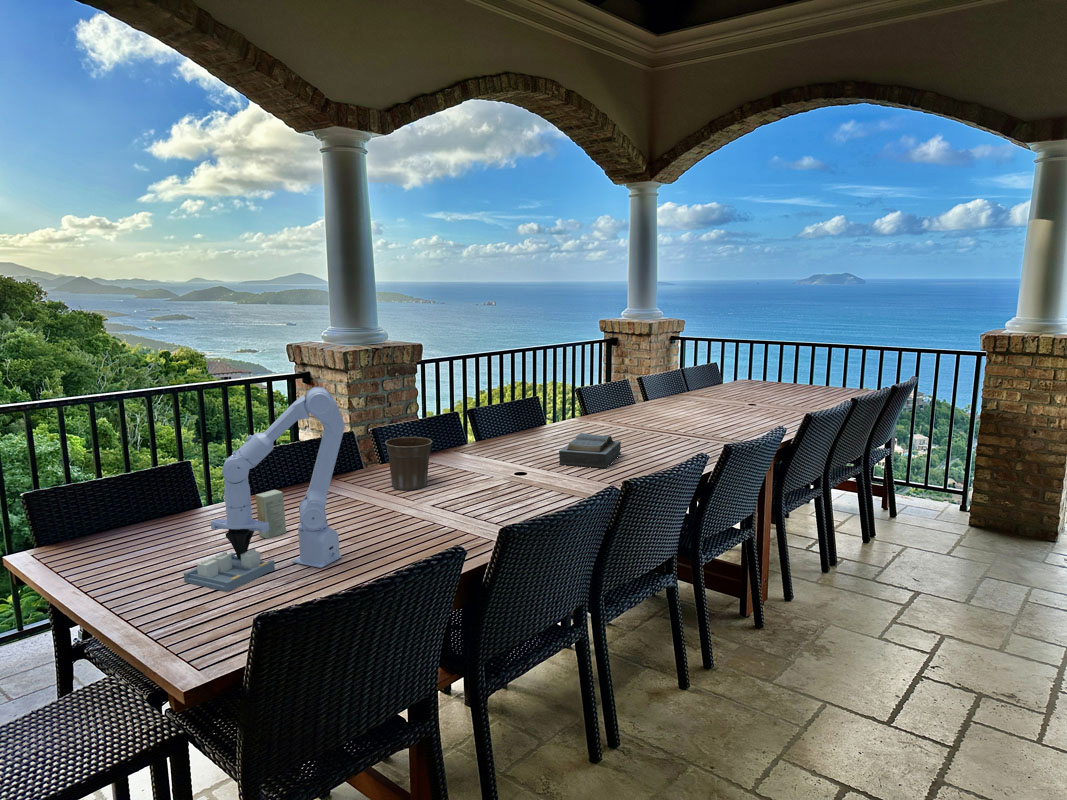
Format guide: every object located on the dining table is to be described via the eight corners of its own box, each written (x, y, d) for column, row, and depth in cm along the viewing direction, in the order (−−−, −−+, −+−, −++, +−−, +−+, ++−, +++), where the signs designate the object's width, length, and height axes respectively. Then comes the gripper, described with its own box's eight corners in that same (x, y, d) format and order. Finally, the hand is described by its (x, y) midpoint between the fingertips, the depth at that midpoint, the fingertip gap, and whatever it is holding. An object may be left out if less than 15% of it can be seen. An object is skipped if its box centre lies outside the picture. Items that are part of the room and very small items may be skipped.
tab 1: (218, 574, 167) (217, 558, 167) (207, 579, 165) (205, 563, 164) (209, 572, 169) (207, 556, 168) (198, 577, 166) (196, 561, 165)
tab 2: (232, 568, 171) (231, 552, 171) (221, 573, 168) (220, 556, 168) (223, 566, 172) (222, 550, 172) (212, 571, 170) (211, 555, 169)
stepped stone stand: (631, 458, 287) (631, 434, 286) (602, 472, 265) (602, 447, 263) (580, 451, 299) (581, 428, 298) (548, 464, 277) (548, 440, 275)
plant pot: (438, 480, 253) (437, 436, 251) (427, 493, 237) (425, 446, 235) (394, 479, 255) (392, 436, 252) (380, 492, 239) (378, 446, 236)
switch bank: (274, 569, 173) (273, 560, 173) (227, 592, 160) (227, 582, 160) (232, 560, 179) (231, 551, 178) (184, 581, 166) (183, 572, 165)
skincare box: (278, 530, 202) (275, 488, 200) (286, 533, 199) (284, 491, 197) (257, 536, 197) (254, 493, 195) (265, 539, 194) (263, 496, 192)
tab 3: (260, 565, 173) (259, 549, 172) (250, 570, 170) (249, 554, 169) (251, 563, 174) (250, 547, 174) (241, 568, 171) (240, 552, 171)
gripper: (274, 501, 173) (277, 553, 176) (221, 498, 176) (225, 550, 178) (258, 510, 167) (262, 564, 169) (203, 507, 169) (207, 560, 171)
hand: (242, 557), depth 173 cm, fingers closed
